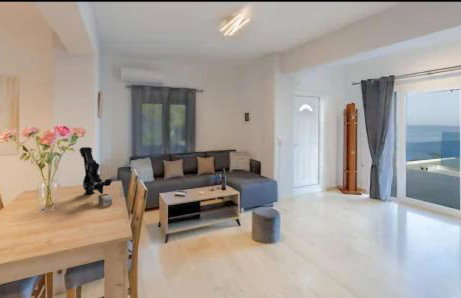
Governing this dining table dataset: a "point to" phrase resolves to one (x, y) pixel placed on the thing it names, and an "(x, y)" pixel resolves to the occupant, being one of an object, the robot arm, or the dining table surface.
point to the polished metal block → (105, 199)
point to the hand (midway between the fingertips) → (102, 193)
